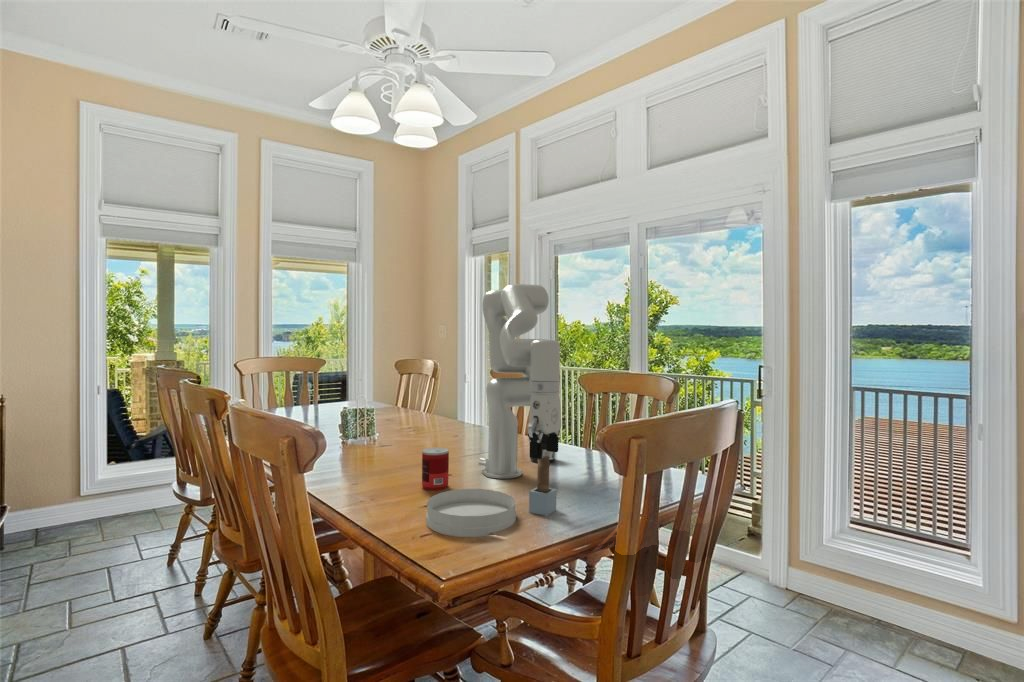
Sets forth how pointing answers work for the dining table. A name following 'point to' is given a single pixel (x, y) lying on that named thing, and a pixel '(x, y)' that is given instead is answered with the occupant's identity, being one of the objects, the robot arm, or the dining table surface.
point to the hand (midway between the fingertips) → (544, 454)
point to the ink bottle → (544, 451)
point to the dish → (470, 512)
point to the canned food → (435, 468)
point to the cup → (542, 502)
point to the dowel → (543, 475)
